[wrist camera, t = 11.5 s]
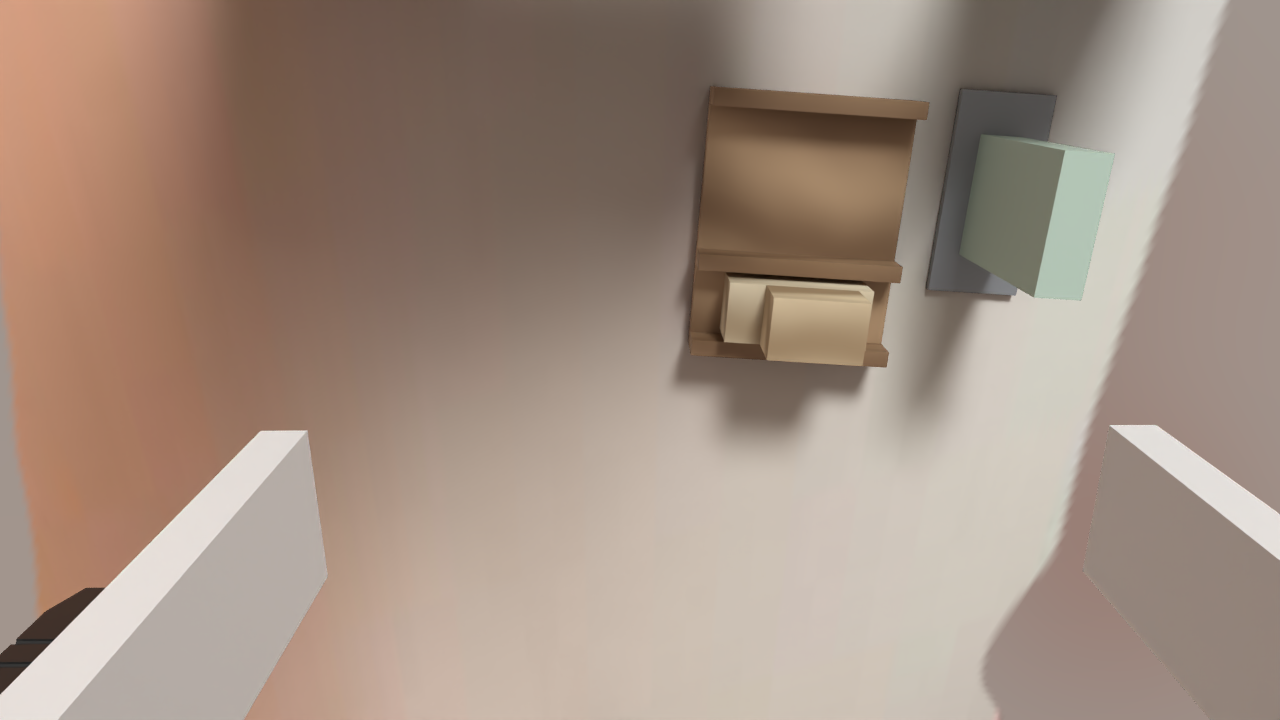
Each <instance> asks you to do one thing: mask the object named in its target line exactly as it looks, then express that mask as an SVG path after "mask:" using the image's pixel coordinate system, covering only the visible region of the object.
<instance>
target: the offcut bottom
mask: <svg viewBox="0 0 1280 720" xmlns="http://www.w3.org/2000/svg"><path fill="white" fill-rule="evenodd" d="M766 285H774V286H789V287H804V288H820V289H835V290H851V291H859V292H860V293H861V294H862V295H863V296H864V297H865V298H866V299H867V300H868V301H869V302H870V303H871V304H873V297H874V291H873V290H872V289H871V288H869V287H868V286H867V285H866V284H865V283H864V282H863V281H858V280H843V279H828V278H812V277H797V276H782V275H766V274H751V273H736V272H725V280H724V290H723V300H722V310H721V320H720V330H721V334H722V337H723V340H724V342H730V343H746V344H760V337H761V328H762V319H763V311H764V302H765V293H766ZM871 310H872V308H871ZM870 317H871V314H870ZM869 323H870V321H869ZM868 330H869V327H868ZM867 336H868V334H867ZM866 343H867V340H866ZM865 349H866V347H865Z"/></svg>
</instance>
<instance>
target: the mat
mask: <svg viewBox="0 0 1280 720" xmlns="http://www.w3.org/2000/svg"><path fill="white" fill-rule="evenodd" d="M1056 98H1057V96H1055V95H1041V94H1027V93H1013V92H999V91H984V90H970V89H960V94H959V100H958V106H957V112H956V117H955V123H954V129H953V135H952V141H951V146H950V152H949V158H948V164H947V170H946V175H945V181H944V187H943V193H942V198H941V204H940V210H939V216H938V222H937V227H936V233H935V239H934V245H933V251H932V256H931V262H930V268H929V274H928V280H927V285H926V288H927V289H928V290H939V291H954V292H970V293H985V294H1001V295H1016V292H1017V287H1015V286H1013V285H1011V284H1010V283H1008V282H1006V281H1004V280H1003V279H1001V278H999V277H997V276H996V275H994V274H992V273H990V272H989V271H987V270H985V269H984V268H982V267H980V266H978V265H977V264H975V263H973V262H971V261H970V260H968V259H966V258H964V257H963V256H961V255H959V252H960V246H961V241H962V235H963V230H964V224H965V219H966V214H967V208H968V203H969V197H970V192H971V186H972V181H973V175H974V170H975V164H976V159H977V153H978V148H979V142H980V137H981V134H984V135H998V136H1013V137H1023V138H1029V139H1035V140H1040V141H1046V142H1047V141H1048V137H1049V132H1050V127H1051V122H1052V117H1053V112H1054V107H1055V102H1056Z"/></svg>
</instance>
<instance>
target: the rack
mask: <svg viewBox="0 0 1280 720" xmlns="http://www.w3.org/2000/svg"><path fill="white" fill-rule="evenodd" d="M929 103H930V102H922V101H913V100H899V99H885V98H870V97H856V96H842V95H828V94H814V93H800V92H786V91H771V90H757V89H743V88H729V87H715V86H710V97H709V109H708V120H707V131H706V143H705V154H704V165H703V177H702V188H701V199H700V211H699V222H698V233H697V245H696V256H695V267H694V279H693V290H692V301H691V313H690V324H689V335H688V343H689V348H690V354H691V355H696V356H712V357H728V358H744V359H760V360H766V357H765V355H764V353H763V351H762V348H761V346H760V344H746V343H730V342H724V340H723V337H722V334H721V330H720V320H721V310H722V300H723V290H724V280H725V272H736V273H751V274H766V275H782V276H797V277H812V278H828V279H843V280H858V281H863V282H864V283H865V284H866V285H867V286H868V287H869V288H871V289H872V290H873V291H874V297H873V304H872V310H871V317H870V323H869V330H868V336H867V343H866V349H865V353H864V360H863V366H871V367H887V361H888V355H889V352H888V351H887V350H886V349H885V348H884V347H883V345H882V344H881V341H882V335H883V328H884V322H885V316H886V310H887V303H888V297H889V291H890V285H891V283H900V281H901V275H902V269H903V267H902V266H900V265H899V264H898V263H896V262H895V261H894V259H895V253H896V247H897V241H898V234H899V228H900V222H901V216H902V209H903V203H904V197H905V191H906V184H907V178H908V172H909V165H910V159H911V153H912V147H913V140H914V134H915V128H916V122H917V120H927V115H928V109H929Z"/></svg>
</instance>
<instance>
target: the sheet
mask: <svg viewBox="0 0 1280 720" xmlns="http://www.w3.org/2000/svg"><path fill="white" fill-rule="evenodd" d="M1114 156H1115V154H1113V153H1108V152H1102V151H1096V150H1091V149H1085V148H1080V147H1074V146H1068V145H1063V144H1057V143H1051V142H1046V141H1040V140H1035V139H1029V138H1023V137H1013V136H998V135H984V134H981V137H980V142H979V148H978V153H977V159H976V164H975V170H974V175H973V181H972V186H971V192H970V197H969V203H968V208H967V214H966V219H965V224H964V230H963V235H962V241H961V246H960V252H959V255H961V256H963V257H964V258H966V259H968V260H970V261H971V262H973V263H975V264H977V265H978V266H980V267H982V268H984V269H985V270H987V271H989V272H990V273H992V274H994V275H996V276H997V277H999V278H1001V279H1003V280H1004V281H1006V282H1008V283H1010V284H1011V285H1013V286H1015V287H1017V288H1018V289H1020V290H1022V291H1024V292H1025V293H1027V294H1029V295H1031V296H1032V297H1034V298H1049V299H1065V300H1080V301H1081V300H1082V295H1083V291H1084V287H1085V282H1086V278H1087V274H1088V269H1089V265H1090V261H1091V256H1092V252H1093V248H1094V243H1095V239H1096V235H1097V230H1098V226H1099V221H1100V217H1101V213H1102V208H1103V204H1104V200H1105V195H1106V191H1107V187H1108V182H1109V178H1110V174H1111V169H1112V165H1113V160H1114Z"/></svg>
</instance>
